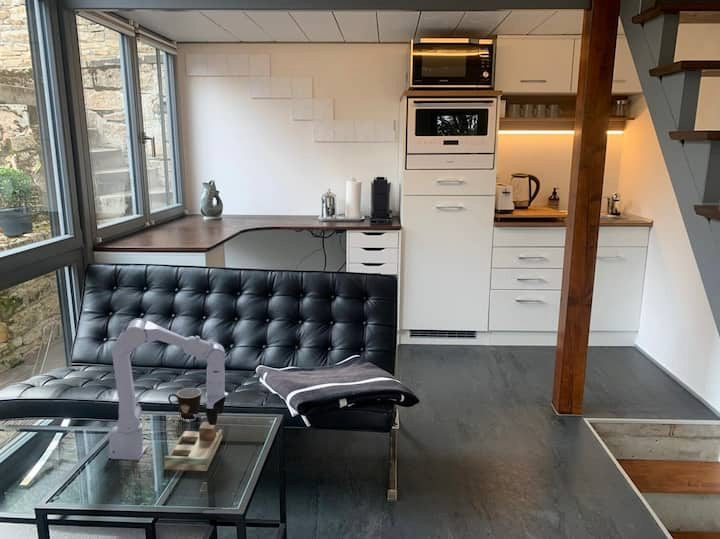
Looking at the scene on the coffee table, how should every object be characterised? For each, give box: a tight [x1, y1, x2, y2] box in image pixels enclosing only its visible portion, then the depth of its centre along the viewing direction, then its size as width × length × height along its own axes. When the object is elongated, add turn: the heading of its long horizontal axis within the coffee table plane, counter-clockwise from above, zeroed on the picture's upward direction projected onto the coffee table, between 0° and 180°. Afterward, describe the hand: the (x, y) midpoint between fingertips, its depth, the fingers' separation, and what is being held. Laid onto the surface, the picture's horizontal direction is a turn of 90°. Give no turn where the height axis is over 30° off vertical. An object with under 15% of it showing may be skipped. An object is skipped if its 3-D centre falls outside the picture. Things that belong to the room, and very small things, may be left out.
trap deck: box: [163, 429, 223, 472], centre depth 177 cm, size 13×20×4 cm, turn 0°
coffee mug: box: [167, 387, 202, 420], centre depth 199 cm, size 12×9×10 cm
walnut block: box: [198, 421, 217, 441], centre depth 183 cm, size 4×4×4 cm
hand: (215, 418), depth 180 cm, fingers open, 7 cm apart
